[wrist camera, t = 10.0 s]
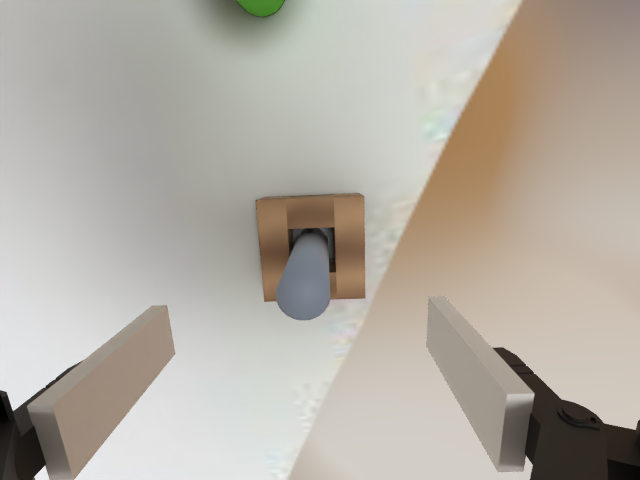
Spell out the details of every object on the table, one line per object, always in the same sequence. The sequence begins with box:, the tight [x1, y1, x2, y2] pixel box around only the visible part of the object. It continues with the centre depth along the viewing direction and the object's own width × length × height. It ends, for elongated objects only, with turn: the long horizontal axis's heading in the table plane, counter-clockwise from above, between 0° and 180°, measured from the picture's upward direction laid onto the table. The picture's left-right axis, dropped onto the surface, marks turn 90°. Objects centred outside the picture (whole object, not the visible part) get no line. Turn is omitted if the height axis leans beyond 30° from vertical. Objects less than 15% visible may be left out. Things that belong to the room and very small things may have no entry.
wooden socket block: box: [256, 193, 365, 302], centre depth 34 cm, size 11×11×4 cm
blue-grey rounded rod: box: [276, 228, 330, 320], centre depth 28 cm, size 4×4×16 cm
